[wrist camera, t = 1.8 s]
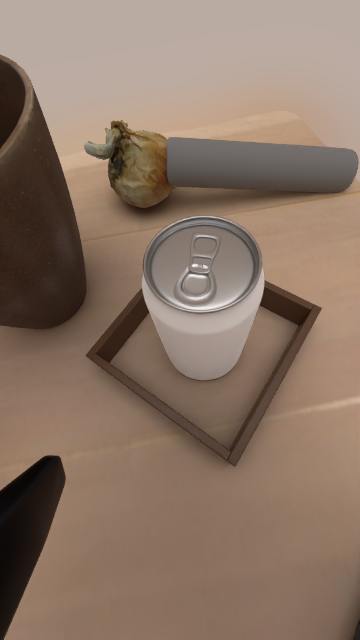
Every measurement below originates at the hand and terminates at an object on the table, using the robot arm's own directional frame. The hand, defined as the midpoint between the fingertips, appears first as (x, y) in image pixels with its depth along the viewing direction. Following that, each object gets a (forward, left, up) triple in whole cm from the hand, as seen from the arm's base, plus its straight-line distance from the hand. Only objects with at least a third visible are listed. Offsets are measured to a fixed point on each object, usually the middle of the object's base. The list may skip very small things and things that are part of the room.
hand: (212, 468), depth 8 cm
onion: (+19, +20, -14) cm, 31 cm away
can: (+7, +5, -14) cm, 16 cm away
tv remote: (+26, +10, -11) cm, 29 cm away
